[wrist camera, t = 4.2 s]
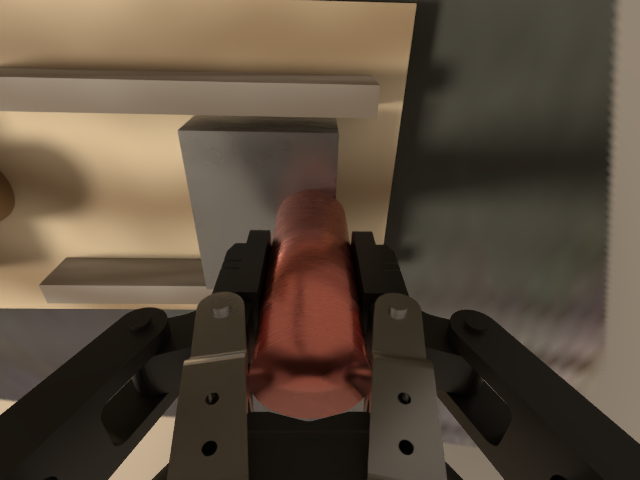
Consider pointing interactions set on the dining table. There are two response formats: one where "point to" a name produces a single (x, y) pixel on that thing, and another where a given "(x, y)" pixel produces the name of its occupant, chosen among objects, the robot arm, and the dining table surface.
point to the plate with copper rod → (284, 252)
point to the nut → (6, 197)
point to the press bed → (172, 129)
